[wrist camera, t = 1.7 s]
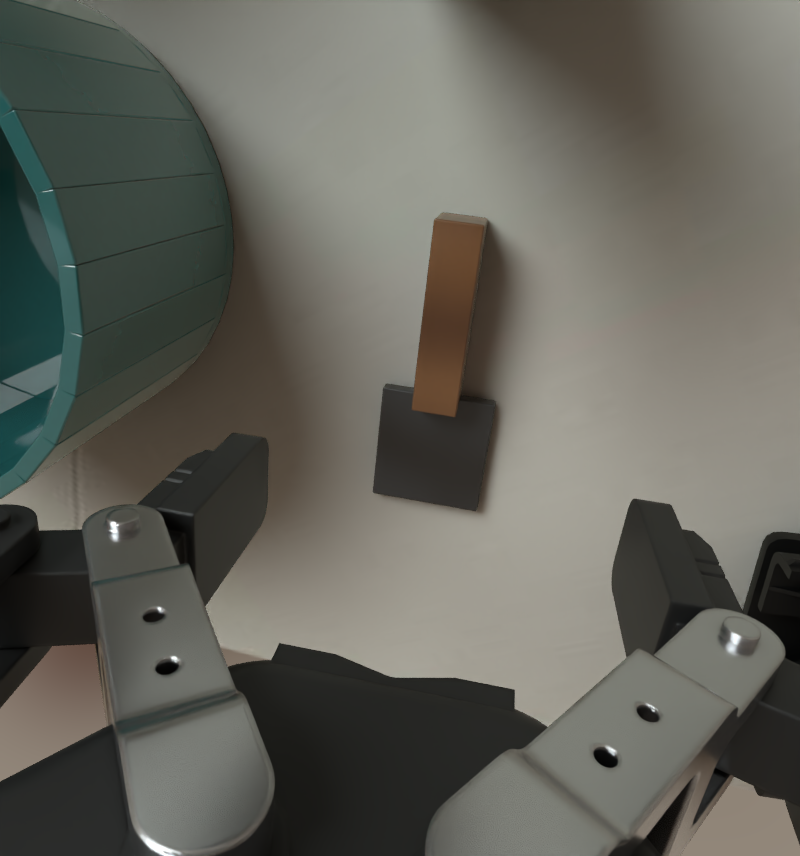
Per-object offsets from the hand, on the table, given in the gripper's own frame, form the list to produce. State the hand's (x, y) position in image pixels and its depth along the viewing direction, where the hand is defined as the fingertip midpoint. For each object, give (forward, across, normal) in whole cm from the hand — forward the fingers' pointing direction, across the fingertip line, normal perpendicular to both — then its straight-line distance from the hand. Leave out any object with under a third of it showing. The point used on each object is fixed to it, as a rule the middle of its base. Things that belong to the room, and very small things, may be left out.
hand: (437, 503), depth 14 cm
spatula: (+14, +1, +1) cm, 14 cm away
